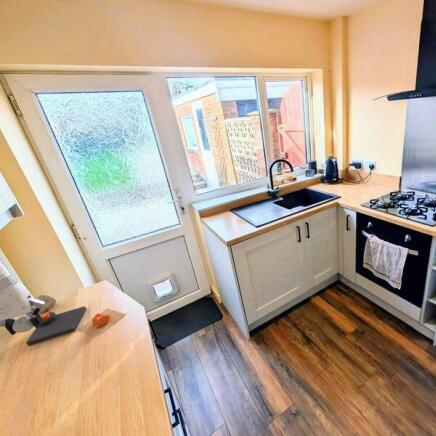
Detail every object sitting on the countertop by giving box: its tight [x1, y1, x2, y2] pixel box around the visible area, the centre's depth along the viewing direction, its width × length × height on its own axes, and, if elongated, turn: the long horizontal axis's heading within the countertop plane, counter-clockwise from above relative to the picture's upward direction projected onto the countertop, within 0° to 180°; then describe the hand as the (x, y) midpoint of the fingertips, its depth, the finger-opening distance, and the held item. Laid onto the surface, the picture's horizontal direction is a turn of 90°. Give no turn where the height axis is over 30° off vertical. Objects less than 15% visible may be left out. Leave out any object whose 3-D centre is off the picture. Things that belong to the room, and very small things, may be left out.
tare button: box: [40, 311, 50, 321], centre depth 101 cm, size 3×3×2 cm
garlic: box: [12, 315, 35, 334], centre depth 80 cm, size 6×5×5 cm
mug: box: [30, 294, 57, 315], centre depth 109 cm, size 8×10×10 cm
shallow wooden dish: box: [77, 308, 126, 338], centre depth 99 cm, size 12×12×4 cm
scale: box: [25, 306, 87, 347], centre depth 100 cm, size 15×14×4 cm
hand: (27, 327), depth 80 cm, fingers closed on garlic, 5 cm apart
